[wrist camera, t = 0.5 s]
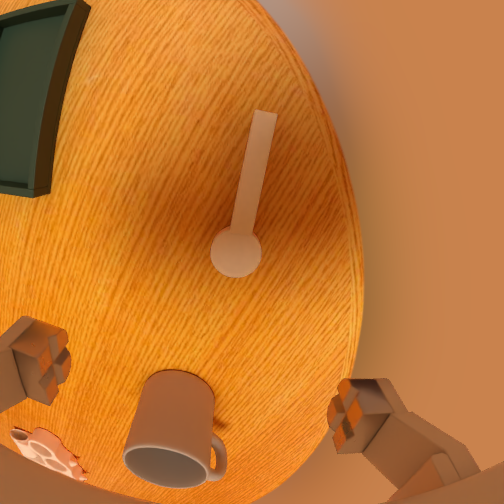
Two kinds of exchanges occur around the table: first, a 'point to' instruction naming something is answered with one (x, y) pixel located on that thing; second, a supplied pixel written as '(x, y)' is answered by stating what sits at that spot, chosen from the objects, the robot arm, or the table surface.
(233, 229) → the spoon
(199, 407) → the mug
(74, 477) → the knuckle duster
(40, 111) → the tray
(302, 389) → the table surface
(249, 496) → the table surface
